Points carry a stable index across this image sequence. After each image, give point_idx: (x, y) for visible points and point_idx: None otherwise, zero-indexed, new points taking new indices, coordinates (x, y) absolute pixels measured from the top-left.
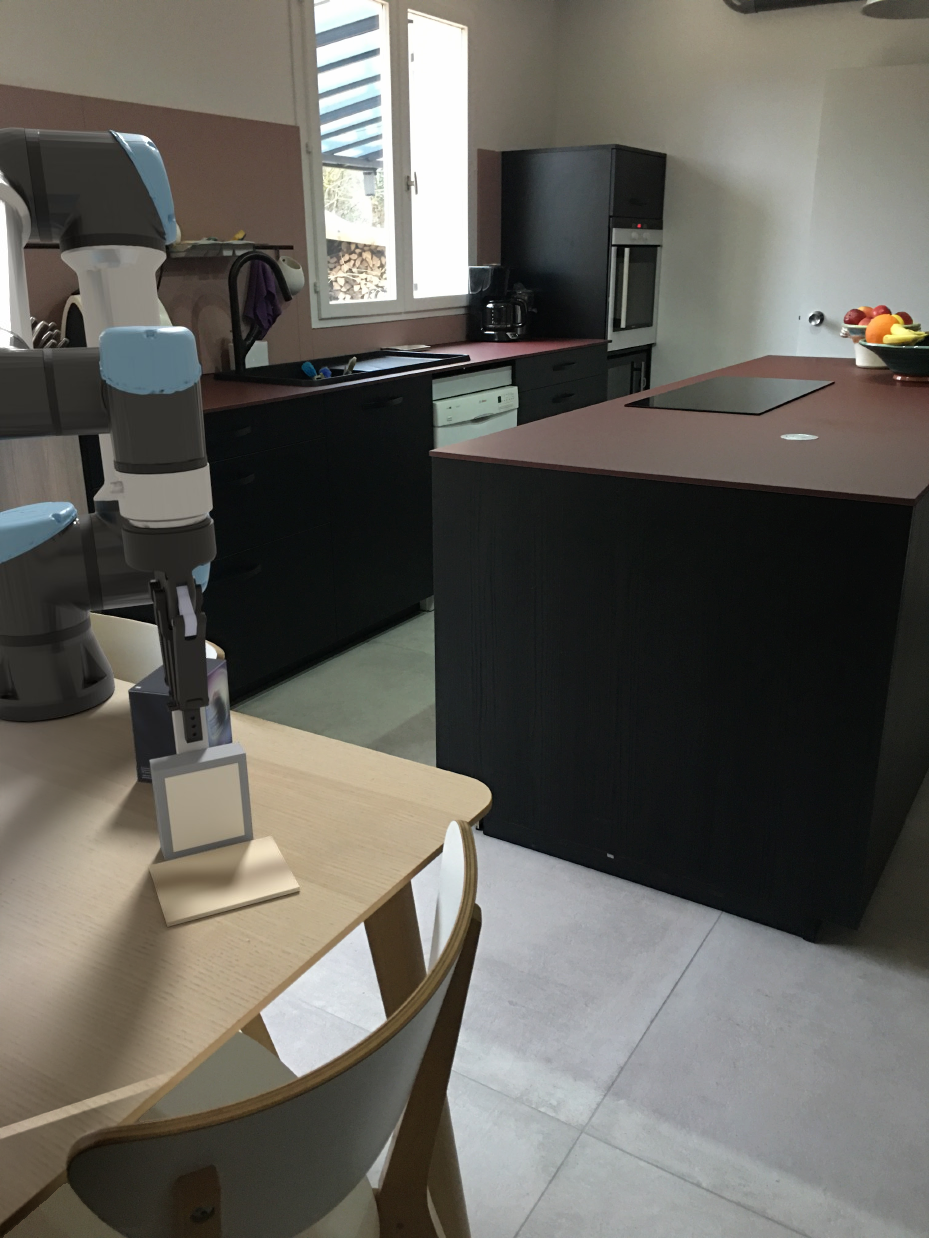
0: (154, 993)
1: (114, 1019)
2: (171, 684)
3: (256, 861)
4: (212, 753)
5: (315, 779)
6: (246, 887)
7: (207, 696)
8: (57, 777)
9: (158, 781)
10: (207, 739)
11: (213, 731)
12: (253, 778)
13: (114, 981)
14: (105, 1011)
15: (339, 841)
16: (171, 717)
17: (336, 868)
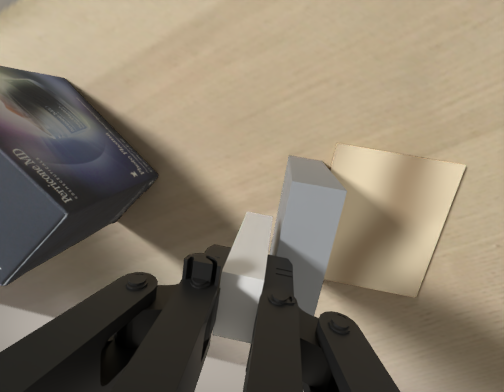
0: (496, 335)
1: (500, 367)
2: (200, 370)
3: (378, 183)
4: (307, 240)
5: (226, 14)
6: (419, 214)
7: (371, 349)
8: (64, 281)
9: None
10: (269, 238)
11: (79, 123)
12: (176, 95)
13: (453, 352)
14: (484, 368)
15: (402, 68)
16: (86, 216)
17: (455, 103)
